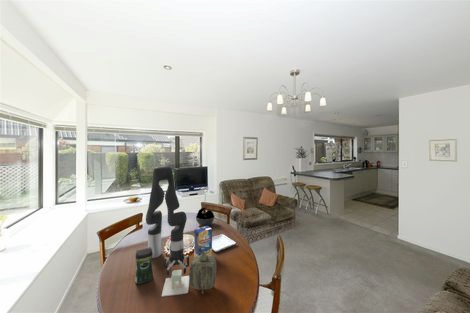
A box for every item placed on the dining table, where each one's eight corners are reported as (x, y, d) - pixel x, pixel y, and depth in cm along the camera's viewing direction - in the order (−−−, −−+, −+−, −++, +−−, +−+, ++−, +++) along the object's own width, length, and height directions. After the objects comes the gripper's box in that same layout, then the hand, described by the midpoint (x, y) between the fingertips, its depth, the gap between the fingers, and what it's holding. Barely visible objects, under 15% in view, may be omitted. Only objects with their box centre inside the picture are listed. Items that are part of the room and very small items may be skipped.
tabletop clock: (216, 285, 106) (216, 242, 106) (215, 297, 97) (215, 251, 97) (191, 285, 105) (192, 243, 105) (188, 297, 96) (188, 251, 96)
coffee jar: (151, 273, 116) (152, 244, 115) (153, 280, 109) (153, 250, 109) (134, 278, 110) (134, 248, 110) (135, 286, 104) (135, 254, 104)
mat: (165, 279, 110) (165, 278, 110) (189, 276, 113) (189, 275, 113) (161, 296, 97) (161, 296, 97) (188, 293, 99) (188, 292, 99)
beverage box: (211, 258, 133) (212, 228, 133) (198, 263, 126) (198, 232, 126) (207, 253, 139) (207, 225, 138) (194, 259, 132) (194, 229, 132)
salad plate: (215, 255, 138) (215, 250, 138) (201, 244, 155) (202, 240, 155) (236, 246, 152) (236, 242, 152) (222, 237, 168) (222, 233, 168)
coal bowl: (194, 223, 201) (195, 206, 200) (212, 221, 207) (212, 205, 206) (196, 230, 182) (196, 211, 181) (216, 228, 188) (216, 210, 187)
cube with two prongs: (172, 282, 107) (172, 270, 107) (181, 281, 108) (181, 269, 108) (171, 289, 102) (171, 276, 102) (180, 287, 103) (181, 275, 103)
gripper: (189, 242, 110) (189, 269, 110) (165, 244, 107) (164, 271, 107) (189, 249, 102) (188, 277, 103) (162, 251, 100) (162, 280, 100)
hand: (176, 274), depth 105 cm, fingers open, 8 cm apart
